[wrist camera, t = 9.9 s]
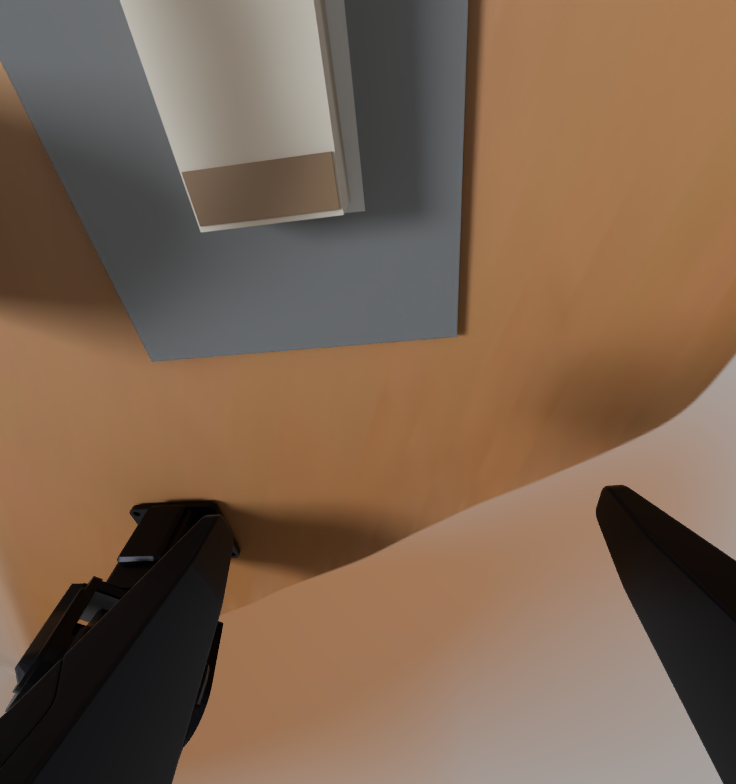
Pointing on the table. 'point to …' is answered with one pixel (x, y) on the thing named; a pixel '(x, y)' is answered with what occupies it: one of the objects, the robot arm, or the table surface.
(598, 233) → the table surface
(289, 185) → the off-white banded block
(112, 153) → the charcoal mat
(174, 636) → the robot arm
